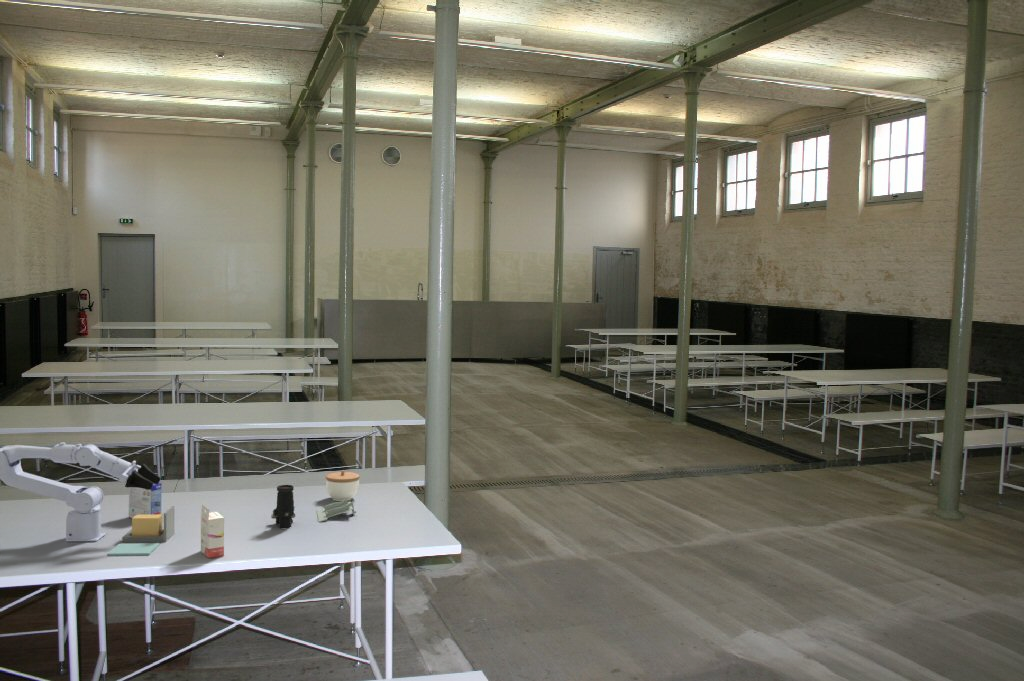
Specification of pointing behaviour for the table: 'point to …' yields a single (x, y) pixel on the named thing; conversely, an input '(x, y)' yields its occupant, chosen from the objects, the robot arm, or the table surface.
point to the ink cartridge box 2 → (212, 533)
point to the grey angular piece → (166, 534)
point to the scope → (284, 506)
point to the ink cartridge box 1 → (145, 501)
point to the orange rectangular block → (147, 525)
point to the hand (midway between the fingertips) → (155, 483)
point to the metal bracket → (334, 510)
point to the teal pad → (133, 549)
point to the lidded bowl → (342, 485)
